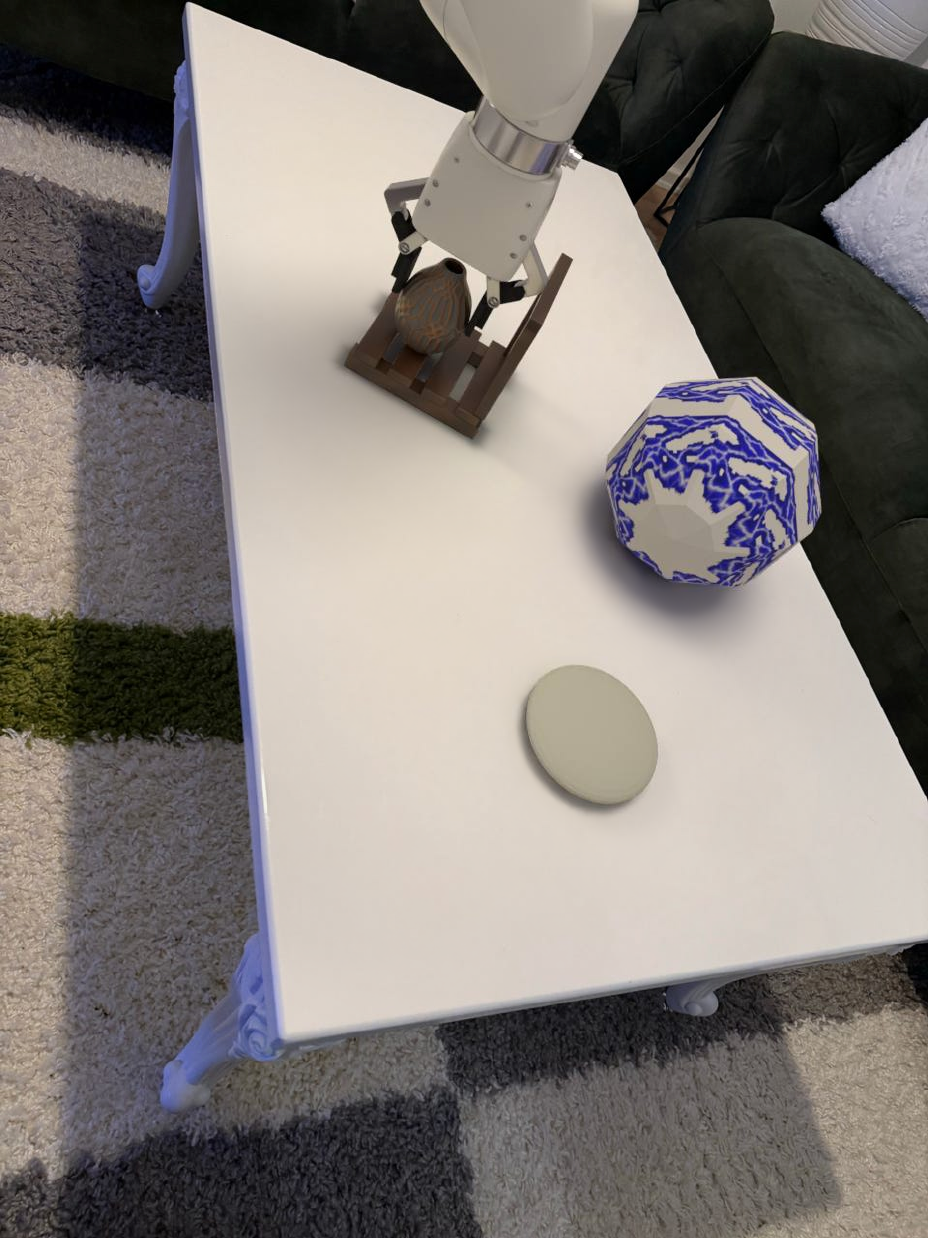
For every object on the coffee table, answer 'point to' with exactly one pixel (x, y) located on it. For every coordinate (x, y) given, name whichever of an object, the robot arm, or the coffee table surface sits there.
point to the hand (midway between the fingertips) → (435, 305)
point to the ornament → (715, 481)
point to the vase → (434, 307)
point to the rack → (452, 362)
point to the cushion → (591, 734)
